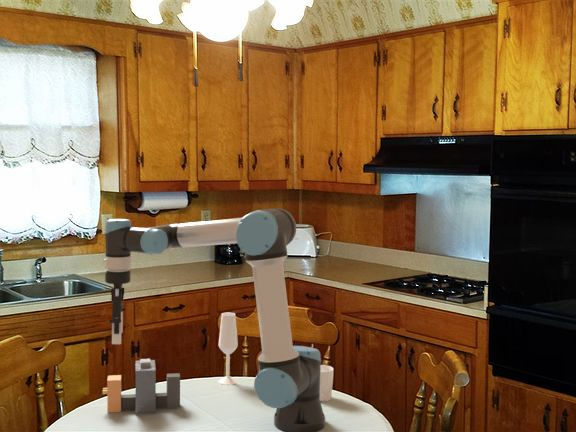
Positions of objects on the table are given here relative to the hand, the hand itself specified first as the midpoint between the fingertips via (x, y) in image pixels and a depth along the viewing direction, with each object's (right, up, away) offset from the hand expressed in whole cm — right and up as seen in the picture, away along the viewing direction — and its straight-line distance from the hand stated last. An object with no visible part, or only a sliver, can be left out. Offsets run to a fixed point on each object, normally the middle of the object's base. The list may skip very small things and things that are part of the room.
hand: (117, 338), depth 222 cm
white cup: (+63, -23, +15) cm, 69 cm away
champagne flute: (+31, -21, +31) cm, 48 cm away
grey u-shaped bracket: (+8, -22, +3) cm, 24 cm away
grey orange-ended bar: (+7, -22, +3) cm, 24 cm away
